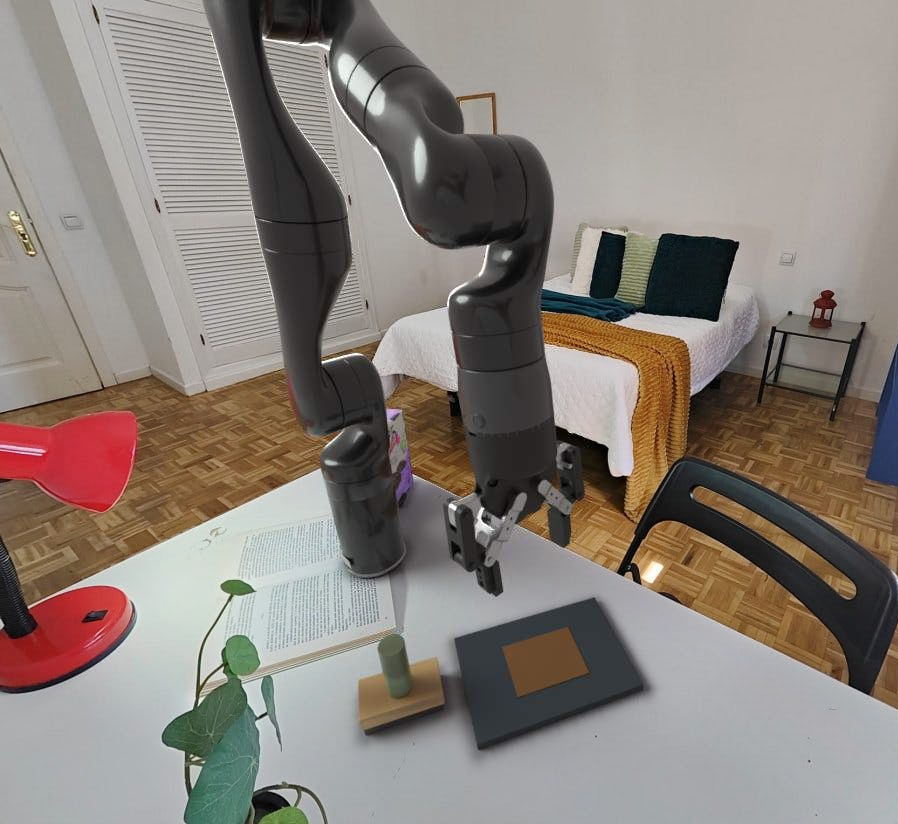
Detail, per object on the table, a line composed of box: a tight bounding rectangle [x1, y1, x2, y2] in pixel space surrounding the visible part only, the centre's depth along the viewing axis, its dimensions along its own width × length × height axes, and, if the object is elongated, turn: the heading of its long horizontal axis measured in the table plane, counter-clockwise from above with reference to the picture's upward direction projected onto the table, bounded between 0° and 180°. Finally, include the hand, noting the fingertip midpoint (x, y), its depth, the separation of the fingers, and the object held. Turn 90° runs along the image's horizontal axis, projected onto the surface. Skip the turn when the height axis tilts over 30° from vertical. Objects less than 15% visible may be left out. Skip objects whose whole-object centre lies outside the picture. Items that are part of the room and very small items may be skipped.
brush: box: [357, 633, 446, 736], centre depth 55 cm, size 5×9×10 cm, turn 110°
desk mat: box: [453, 596, 645, 750], centre depth 61 cm, size 14×20×1 cm
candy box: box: [386, 407, 415, 502], centre depth 87 cm, size 14×6×16 cm, turn 168°
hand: (528, 565), depth 47 cm, fingers open, 8 cm apart
